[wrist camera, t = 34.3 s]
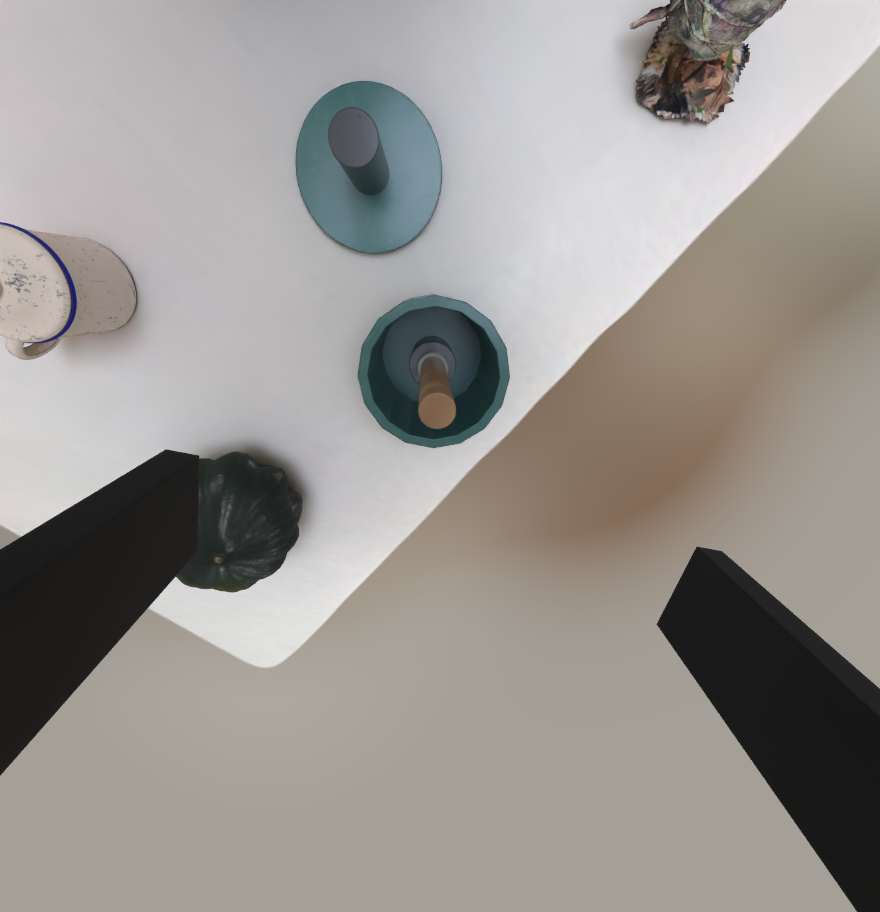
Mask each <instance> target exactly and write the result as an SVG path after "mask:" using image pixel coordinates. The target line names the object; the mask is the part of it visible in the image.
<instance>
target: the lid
mask: <svg viewBox="0 0 880 912" xmlns="http://www.w3.org/2000/svg"><path fill="white" fill-rule="evenodd" d="M296 174H297V180H298V185H299V189H300V192H301V195H302V198H303V200H304V202H305V205H306V207H307V209H308V210H309V212H310V214H311V215H312V217H313V218H314V220H315V221H316V222H317V224H318V225H319V226H320V227H321V228H322V229H323V230H324V231H325V233H327V234H328V235H329V236H330V237H331V238H333V239H334V240H336V241H337V242H339V243H340V244H342V245H344V246H346V247H348V248H350V249H353V250H356V251H360V252H366V253H383V252H388V251H392V250H395V249H398V248H400V247H402V246H404V245H406V244H407V243H409V242H410V241H412V240H413V239H414V238H415V237H416V236H418V234H419V233H420V232H421V231H422V230H423V229H424V228H425V226H426V225H427V223H428V222H429V220H430V219H431V217H432V215H433V213H434V210H435V208H436V205H437V203H438V199H439V195H440V190H441V182H442V165H441V156H440V151H439V147H438V143H437V140H436V137H435V135H434V133H433V130H432V128H431V126H430V124H429V123H428V121H427V119H426V118H425V116H424V115H423V113H422V112H421V111H420V110H419V108H418V107H417V106H416V105H415V104H414V103H413V102H412V101H411V100H410V99H409V98H407V97H406V96H405V95H403V94H402V93H401V92H399V91H397V90H395V89H394V88H392V87H389V86H387V85H384V84H381V83H376V82H370V81H358V82H351V83H347V84H344V85H341V86H339V87H337V88H335V89H333V90H331V91H330V92H328V93H327V94H326V95H324V96H323V97H322V98H321V99H320V100H319V101H318V102H317V103H316V104H315V105H314V107H313V108H312V109H311V111H310V112H309V114H308V116H307V117H306V119H305V121H304V123H303V126H302V128H301V131H300V134H299V138H298V142H297V149H296Z"/></svg>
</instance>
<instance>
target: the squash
mask: <svg viewBox="0 0 880 912" xmlns="http://www.w3.org/2000/svg"><path fill="white" fill-rule="evenodd" d="M301 512H302V498H301V496H300V495H299V494H298V493H297V492H296V491H294V490H292V489H289V488H288V483H287V478H286V475H285V473H284V472H283V470H282V469H279V468H276V467H270V466H261V467H260V466H259V465H258V463H257V462H256V461H255V460H254V459H253V458H252V457H250V456H249V455H247V454H245V453H241V452H232V453H229V454H226V455H224V456H222V457H220V458H218V459H216V460H212V459H199V501H198V552H197V553H196V554H195V555H194V556H193V557H192V558H191V559H190V561H189V562H188V563H187V564H186V565H185V566H184V567H183V569H182V570H181V571H180V572H179V573H178V574H177V575H176V577H177V578H178V579H179V580H180V581H181V582H182V583H183V584H185V585H187V586H190V587H197V588H200V589H215V590H219V591H226V592H237V591H240V590H245V589H247V588H249V587H251V586H252V585H253V584H255V583H256V582H257V581H258V580H260V579H263V578H266V577H268V576H270V575H272V574H273V573H274V572H276V571H277V570H278V569H279V568H280V567H281V566H282V564H283V563H284V560H285V558H286V555H287V553H288V551H289V550H290V549H291V548H292V547H293V546H294V544H295V543H296V541H297V539H298V537H299V528H298V525H297V523H298V521H299V518H300V515H301Z"/></svg>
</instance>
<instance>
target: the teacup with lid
mask: <svg viewBox="0 0 880 912" xmlns="http://www.w3.org/2000/svg"><path fill="white" fill-rule="evenodd" d="M135 305H136V291H135V286H134V283H133V280H132V278H131V276H130V274H129V272H128V270H127V268H126V267H125V266H124V264H123V263H122V262H121V261H120V259H119V258H118V257H117V256H116V255H114V254H113V253H112V252H111V251H110V250H108V249H107V248H105V247H104V246H102V245H100V244H98V243H96V242H93V241H91V240H87V239H83V238H76V237H70V236H64V235H57V234H51V233H44V232H38V231H31V230H25V229H22V228H20V227H17V226H15V225H11V224H7V223H2V222H0V335H2V336H4V337H6V339H5V346H6V349H7V350H8V352H9V353H10V354H12V355H13V356H15V357H17V358H19V359H23V360H30V359H35V358H38V357H40V356H42V355H44V354H46V353H48V352H49V351H51V350H52V349H53V348H54V347H55V346H56V345H57V344H58V343H59V341H60V340H61V338H62V337H69V336H77V335H85V334H93V333H101V332H108V331H113V330H116V329H118V328H120V327H122V326H123V325H125V324H126V323H127V322H128V320H129V319H130V318H131V316H132V314H133V312H134V309H135ZM24 342H25V343H34V344H32V345H30V346H27V347H24V348H23V345H24Z"/></svg>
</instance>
